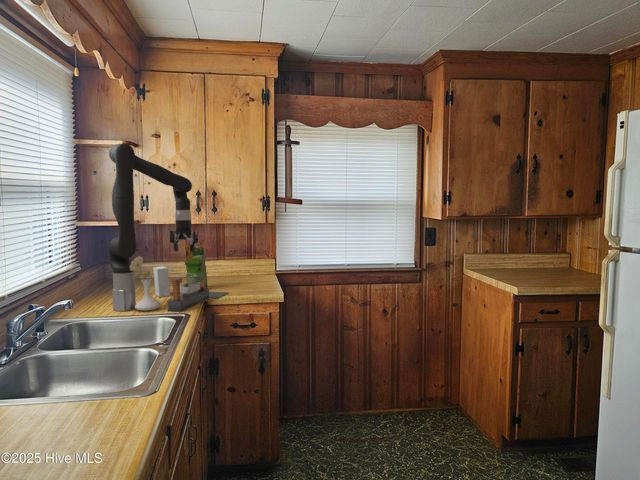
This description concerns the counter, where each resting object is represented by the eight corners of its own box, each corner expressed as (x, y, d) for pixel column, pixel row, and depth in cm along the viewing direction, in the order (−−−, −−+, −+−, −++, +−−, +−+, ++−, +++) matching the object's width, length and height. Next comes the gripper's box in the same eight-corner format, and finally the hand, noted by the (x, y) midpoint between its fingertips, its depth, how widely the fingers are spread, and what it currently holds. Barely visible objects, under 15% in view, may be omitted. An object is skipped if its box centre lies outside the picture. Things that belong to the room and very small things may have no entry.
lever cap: (189, 293, 222) (188, 284, 222) (179, 292, 224) (179, 284, 223) (200, 289, 232) (199, 280, 231) (191, 288, 233) (190, 280, 233)
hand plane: (180, 312, 214) (179, 280, 213) (167, 311, 216) (166, 279, 214) (209, 299, 239) (208, 270, 238) (197, 298, 241) (196, 270, 239)
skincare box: (170, 296, 247) (169, 267, 245) (158, 297, 243) (157, 268, 242) (165, 293, 254) (164, 265, 252) (154, 294, 250) (153, 266, 249)
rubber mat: (217, 298, 240) (217, 297, 240) (196, 297, 243) (196, 296, 243) (228, 293, 251) (228, 292, 251) (208, 292, 255) (208, 291, 255)
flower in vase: (152, 305, 227) (150, 253, 225) (166, 308, 220) (163, 254, 218) (126, 310, 217) (123, 256, 215) (139, 314, 210) (136, 258, 208)
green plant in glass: (207, 291, 258) (206, 245, 255) (184, 292, 255) (182, 245, 253) (207, 287, 269) (206, 242, 266) (185, 288, 266) (183, 243, 264)
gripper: (166, 219, 234) (167, 252, 235) (192, 219, 230) (193, 253, 232) (174, 218, 241) (175, 250, 243) (200, 218, 238) (200, 251, 239)
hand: (184, 251), depth 237 cm, fingers open, 8 cm apart
